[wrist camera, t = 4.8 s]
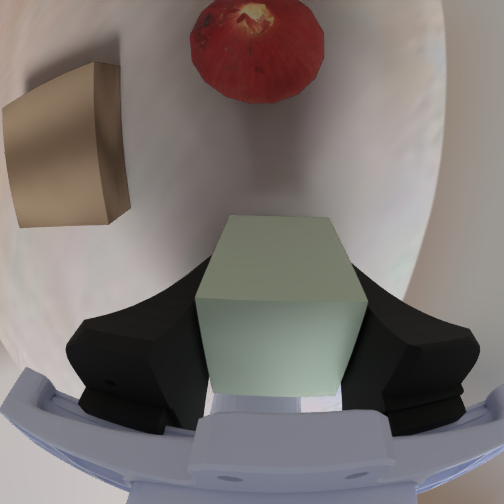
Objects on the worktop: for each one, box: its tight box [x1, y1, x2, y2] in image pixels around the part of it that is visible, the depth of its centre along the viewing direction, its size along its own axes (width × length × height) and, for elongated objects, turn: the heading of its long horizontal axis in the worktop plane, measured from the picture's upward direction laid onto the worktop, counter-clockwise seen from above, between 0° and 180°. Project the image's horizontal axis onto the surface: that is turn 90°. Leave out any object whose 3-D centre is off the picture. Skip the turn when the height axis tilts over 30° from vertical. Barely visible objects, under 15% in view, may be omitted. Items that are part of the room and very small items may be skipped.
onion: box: [190, 0, 324, 104], centre depth 9 cm, size 6×6×8 cm
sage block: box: [195, 215, 368, 397], centre depth 10 cm, size 4×4×6 cm
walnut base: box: [2, 62, 131, 228], centre depth 14 cm, size 10×10×3 cm
